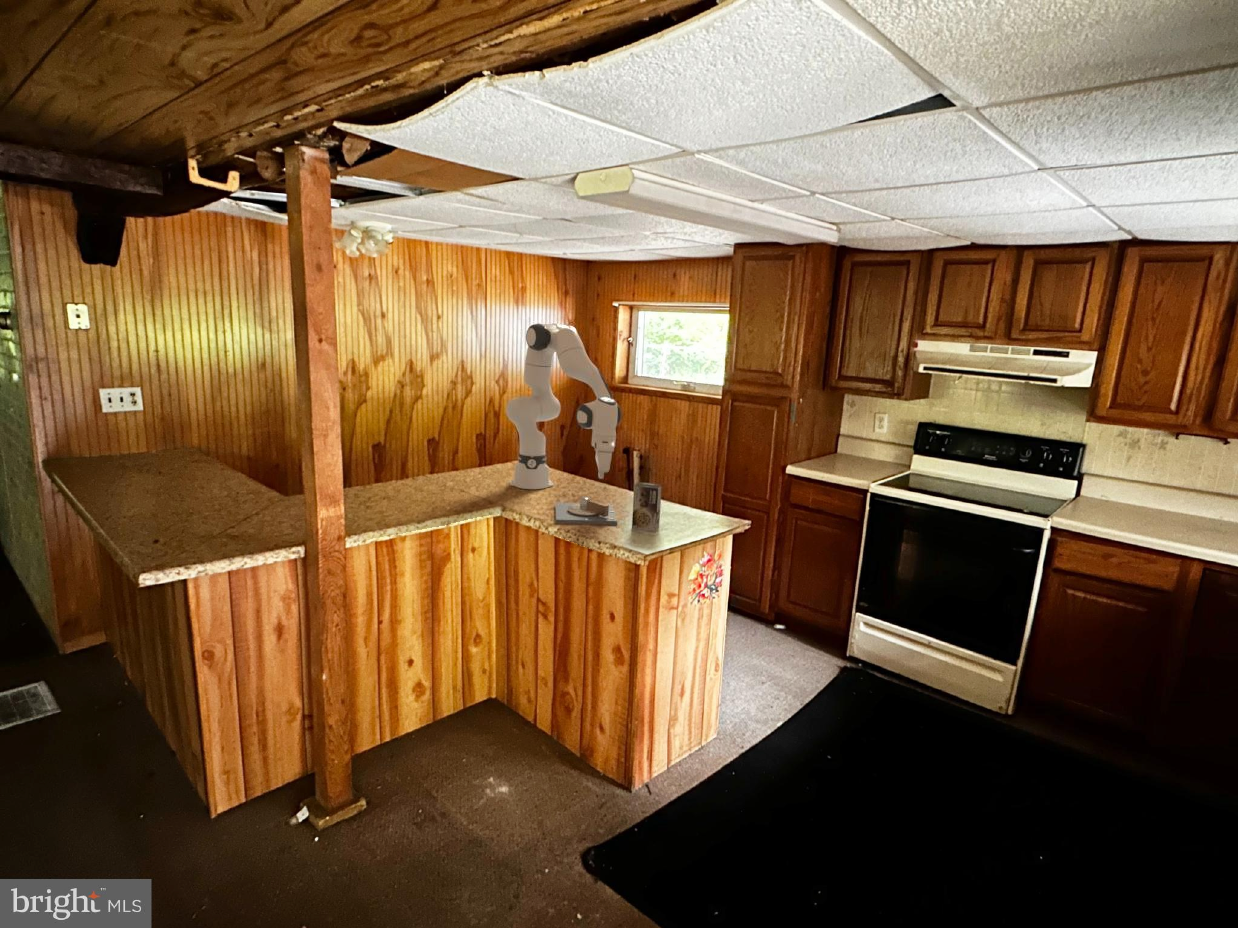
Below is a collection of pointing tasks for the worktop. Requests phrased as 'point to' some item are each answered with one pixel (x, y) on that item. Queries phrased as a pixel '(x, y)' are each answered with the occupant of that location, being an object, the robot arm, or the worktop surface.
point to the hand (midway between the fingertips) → (600, 477)
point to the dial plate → (570, 518)
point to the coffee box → (646, 506)
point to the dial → (589, 508)
